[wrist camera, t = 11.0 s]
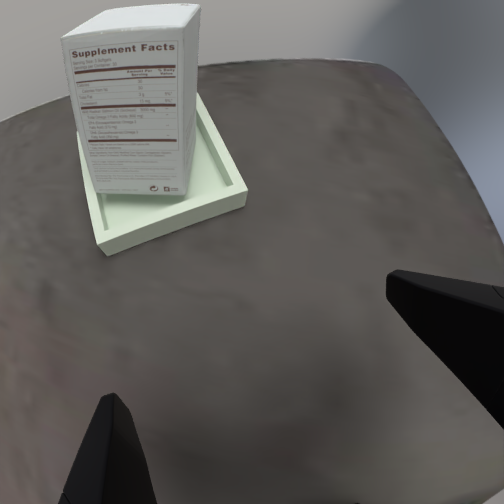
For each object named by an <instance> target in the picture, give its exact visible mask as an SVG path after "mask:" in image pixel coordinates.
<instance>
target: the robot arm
mask: <svg viewBox="0 0 504 504" xmlns="http://www.w3.org/2000/svg"><path fill="white" fill-rule="evenodd" d="M386 297H387V300H388V301H389V302H390V304H391V305H392V306H393V307H394V309H395V310H396V311H397V312H398V313H399V315H400V316H401V317H402V318H403V320H404V321H405V322H406V323H407V325H408V326H409V327H410V328H411V329H412V331H413V332H414V333H415V334H416V335H417V336H418V337H419V338H420V339H421V340H422V341H423V342H424V343H425V344H426V345H427V346H428V347H429V348H430V349H431V350H432V351H433V352H434V353H435V355H436V356H437V357H438V358H439V359H440V360H441V361H442V362H443V363H444V364H445V365H446V366H447V367H448V368H449V369H450V370H451V371H452V372H453V373H454V375H455V376H456V377H457V378H458V379H459V380H460V381H461V382H462V383H463V384H464V385H465V386H466V387H467V389H468V390H469V391H470V392H471V393H472V394H473V395H474V396H475V397H476V398H477V400H478V401H479V402H480V403H481V404H482V405H483V406H484V407H485V408H486V410H487V411H488V412H489V413H490V414H491V415H492V417H493V418H494V419H495V420H496V421H497V422H498V423H499V425H500V426H501V427H502V428H503V429H504V287H500V286H494V285H492V286H491V285H488V284H482V283H476V282H470V281H464V280H458V279H452V278H446V277H440V276H434V275H428V274H422V273H416V272H410V271H404V270H395V271H393V272H391V273H389V274H388V275H387V277H386ZM63 492H64V493H62V494H61V497H60V500H59V503H58V504H157V502H156V498H155V495H154V491H153V487H152V483H151V479H150V475H149V471H148V467H147V463H146V459H145V456H144V453H143V450H142V447H141V444H140V441H139V438H138V435H137V431H136V428H135V425H134V422H133V418H132V415H131V413H130V411H129V409H128V408H127V406H126V405H125V404H124V403H123V402H122V400H121V399H120V398H119V397H118V395H117V394H115V393H110V394H107V395H104V396H102V397H101V399H100V401H99V404H98V406H97V408H96V410H95V413H94V415H93V417H92V420H91V422H90V424H89V427H88V429H87V431H86V434H85V436H84V438H83V441H82V443H81V446H80V448H79V450H78V453H77V455H76V458H75V460H74V463H73V465H72V468H71V471H70V473H69V476H68V478H67V481H66V484H65V486H64V489H63ZM357 504H358V503H357Z"/></svg>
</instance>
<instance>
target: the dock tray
mask: <svg viewBox="0 0 504 504" xmlns="http://www.w3.org/2000/svg"><path fill="white" fill-rule="evenodd" d="M77 138H78V146H79V153H80V160H81V167H82V173H83V179H84V185H85V190H86V196H87V201H88V206H89V211H90V216H91V220H92V225H93V229H94V234H95V238H96V242H97V245H98V246H99V247H100V249H101V250H102V251H103V252H104V253H105V254H106V256H107V257H108V256H110V255H113V254H115V253H118V252H120V251H123V250H126V249H128V248H131V247H133V246H136V245H139V244H141V243H144V242H146V241H149V240H152V239H154V238H157V237H160V236H162V235H165V234H168V233H170V232H173V231H176V230H179V229H181V228H184V227H187V226H190V225H192V224H195V223H198V222H201V221H203V220H206V219H209V218H212V217H215V216H218V215H220V214H223V213H226V212H229V211H232V210H235V209H238V208H241V207H244V206H245V202H246V197H247V192H248V189H247V187H246V185H245V183H244V181H243V179H242V177H241V175H240V173H239V172H238V170H237V168H236V166H235V164H234V162H233V160H232V158H231V156H230V154H229V152H228V150H227V148H226V146H225V144H224V142H223V140H222V138H221V137H220V135H219V133H218V131H217V129H216V127H215V125H214V123H213V121H212V119H211V117H210V115H209V114H208V112H207V110H206V108H205V106H204V104H203V102H202V100H201V98H200V97H199V95H198V93H197V98H196V143H195V149H194V155H193V160H192V166H191V172H190V177H189V183H188V188H187V193H186V195H183V196H178V195H142V194H105V193H96V192H95V190H94V187H93V184H92V181H91V177H90V174H89V171H88V167H87V164H86V160H85V157H84V153H83V149H82V145H81V142H80V137H79V133H78V132H77Z"/></svg>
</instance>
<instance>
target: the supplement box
mask: <svg viewBox="0 0 504 504" xmlns="http://www.w3.org/2000/svg"><path fill="white" fill-rule="evenodd" d="M200 12H201V5H198V4H159V5H145V6H134V7H126V8H117V9H111V10H106V11H103V12H102V13H100V14H98V15H97V16H95V17H93V18H92V19H90V20H88V21H87V22H85V23H83V24H82V25H80V26H78V27H77V28H75V29H74V30H72V31H70V32H69V33H67V34H66V35H64V36H62V37H61V43H62V50H63V57H64V64H65V70H66V76H67V81H68V87H69V92H70V97H71V102H72V107H73V112H74V116H75V121H76V125H77V129H78V133H79V137H80V142H81V145H82V149H83V153H84V157H85V160H86V164H87V167H88V171H89V174H90V177H91V181H92V184H93V187H94V190H95V192H96V193H105V194H142V195H178V196H183V195H186V193H187V188H188V183H189V177H190V172H191V166H192V160H193V155H194V149H195V143H196V98H197V68H198V45H199V27H200Z"/></svg>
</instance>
